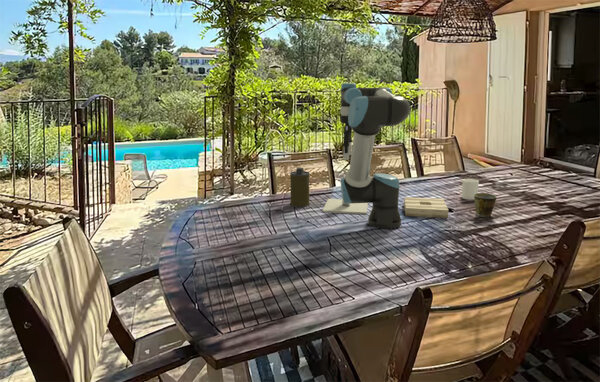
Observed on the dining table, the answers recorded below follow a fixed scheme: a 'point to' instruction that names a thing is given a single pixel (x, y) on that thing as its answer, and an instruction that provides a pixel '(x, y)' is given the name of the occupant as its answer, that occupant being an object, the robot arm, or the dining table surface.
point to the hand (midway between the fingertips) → (347, 157)
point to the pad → (337, 207)
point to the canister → (299, 188)
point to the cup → (469, 188)
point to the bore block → (425, 207)
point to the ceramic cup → (484, 204)
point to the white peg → (345, 204)
